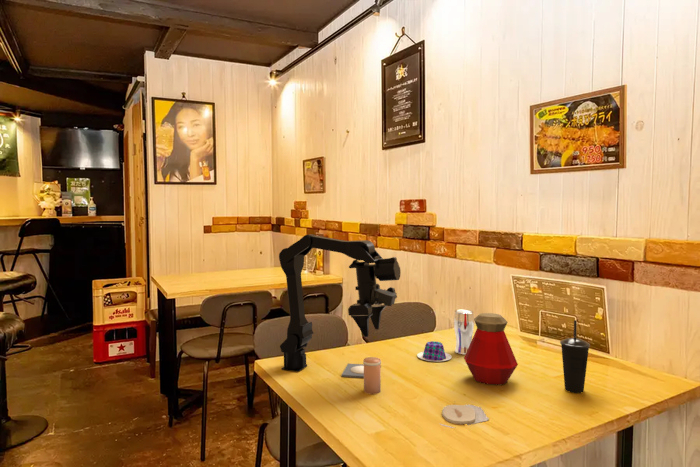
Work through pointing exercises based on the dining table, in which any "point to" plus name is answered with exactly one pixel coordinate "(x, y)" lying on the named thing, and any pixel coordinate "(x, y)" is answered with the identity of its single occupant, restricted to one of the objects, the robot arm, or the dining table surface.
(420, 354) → the pudding
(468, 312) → the beer glass
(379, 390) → the terracotta tube
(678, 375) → the dining table surface
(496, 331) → the bottle
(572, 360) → the drinking cup
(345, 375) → the card
